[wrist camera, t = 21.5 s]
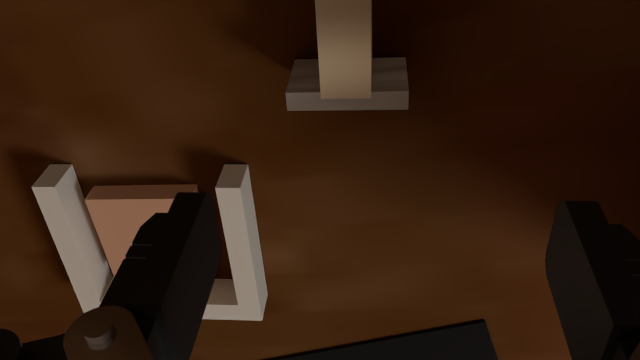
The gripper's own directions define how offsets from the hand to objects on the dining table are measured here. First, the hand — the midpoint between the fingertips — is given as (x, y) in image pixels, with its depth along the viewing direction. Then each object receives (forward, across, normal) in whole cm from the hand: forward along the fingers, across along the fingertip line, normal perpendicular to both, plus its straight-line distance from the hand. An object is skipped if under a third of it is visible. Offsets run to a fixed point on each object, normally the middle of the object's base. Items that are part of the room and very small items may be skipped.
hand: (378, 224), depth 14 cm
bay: (+19, +15, +17) cm, 29 cm away
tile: (+19, +15, +17) cm, 30 cm away
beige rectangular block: (+19, +2, -1) cm, 19 cm away
